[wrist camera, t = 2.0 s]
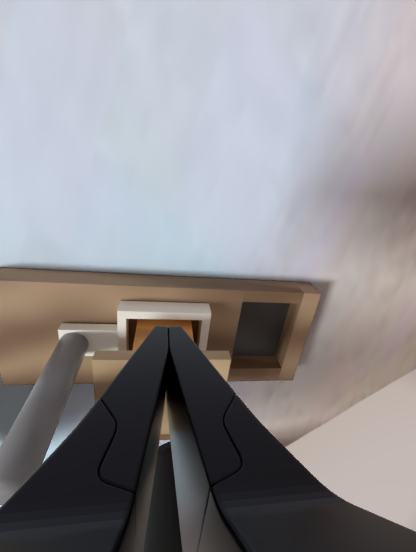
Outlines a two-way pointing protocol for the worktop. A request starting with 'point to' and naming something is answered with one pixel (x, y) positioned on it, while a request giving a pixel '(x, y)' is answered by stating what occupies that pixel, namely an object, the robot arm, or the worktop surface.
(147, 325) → the block
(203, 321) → the sled
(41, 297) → the tan piece
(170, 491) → the aerosol can
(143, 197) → the worktop surface
